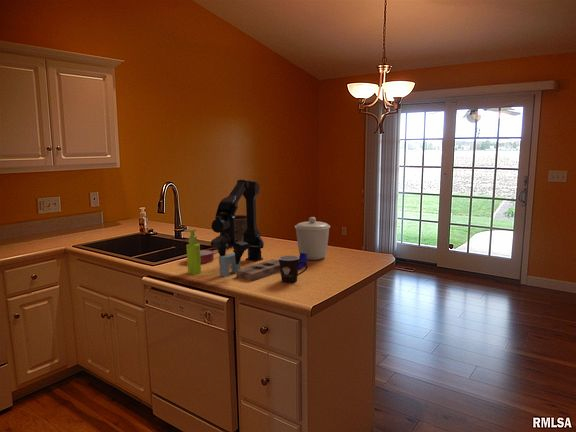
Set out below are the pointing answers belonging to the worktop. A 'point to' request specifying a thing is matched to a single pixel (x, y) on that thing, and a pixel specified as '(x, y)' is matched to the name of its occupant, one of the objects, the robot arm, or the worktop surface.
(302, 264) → the cable clip
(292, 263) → the coffee mug
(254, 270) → the rail
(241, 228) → the plant pot
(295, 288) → the worktop surface
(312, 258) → the canister
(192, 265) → the soap dispenser
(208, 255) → the frying pan
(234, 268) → the grey channel block
